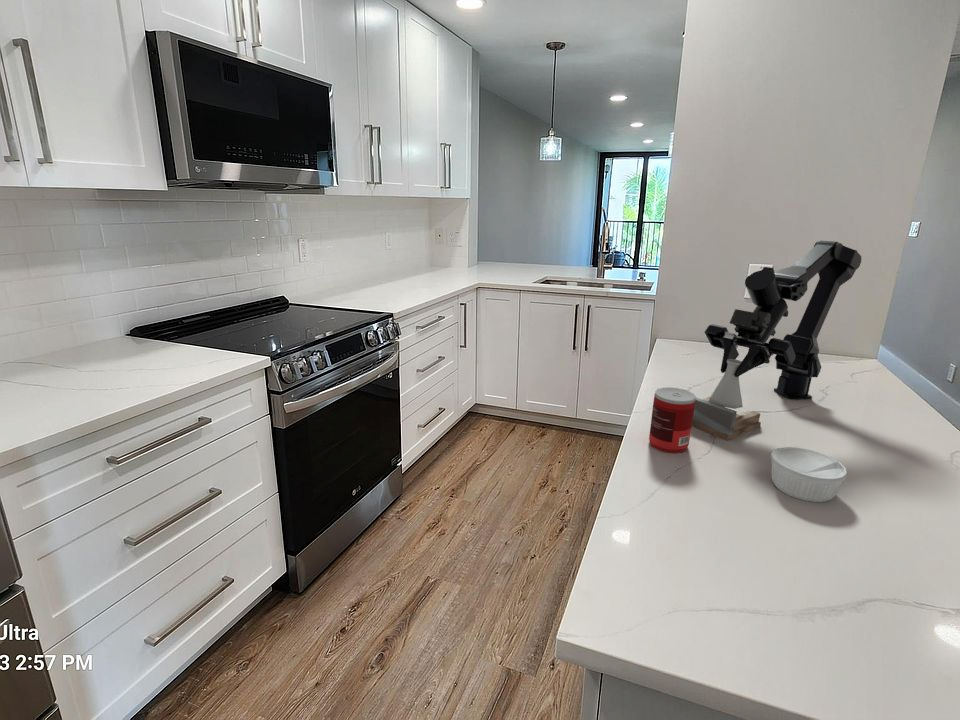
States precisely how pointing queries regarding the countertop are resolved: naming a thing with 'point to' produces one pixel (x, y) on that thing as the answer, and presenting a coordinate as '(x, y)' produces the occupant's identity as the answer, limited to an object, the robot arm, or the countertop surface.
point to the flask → (728, 388)
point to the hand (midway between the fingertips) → (728, 373)
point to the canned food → (672, 419)
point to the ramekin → (806, 474)
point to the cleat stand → (722, 420)
